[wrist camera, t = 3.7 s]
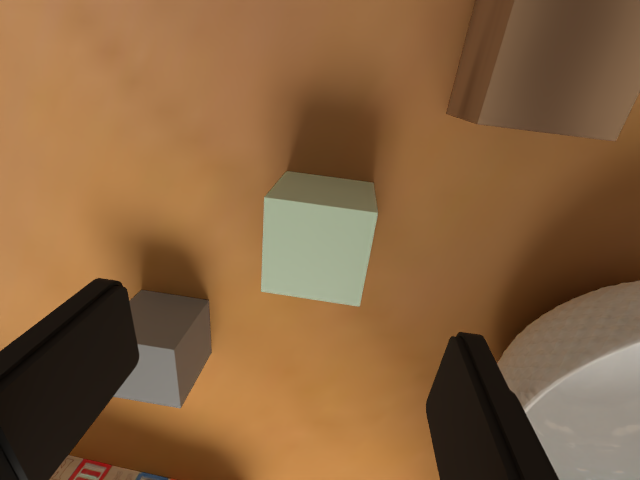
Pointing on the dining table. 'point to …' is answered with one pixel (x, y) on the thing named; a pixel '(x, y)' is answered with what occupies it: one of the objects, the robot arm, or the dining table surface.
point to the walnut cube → (550, 66)
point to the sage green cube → (318, 237)
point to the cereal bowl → (583, 383)
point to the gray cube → (167, 347)
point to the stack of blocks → (98, 471)
